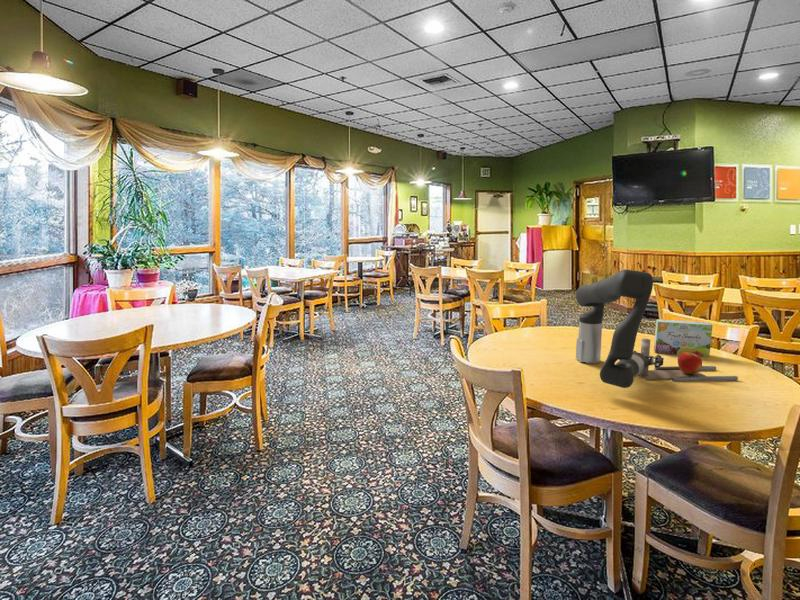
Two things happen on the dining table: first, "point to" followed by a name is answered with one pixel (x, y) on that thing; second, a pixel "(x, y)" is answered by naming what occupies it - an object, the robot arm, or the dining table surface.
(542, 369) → the dining table surface
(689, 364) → the apple
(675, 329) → the snack box
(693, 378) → the lane rails
